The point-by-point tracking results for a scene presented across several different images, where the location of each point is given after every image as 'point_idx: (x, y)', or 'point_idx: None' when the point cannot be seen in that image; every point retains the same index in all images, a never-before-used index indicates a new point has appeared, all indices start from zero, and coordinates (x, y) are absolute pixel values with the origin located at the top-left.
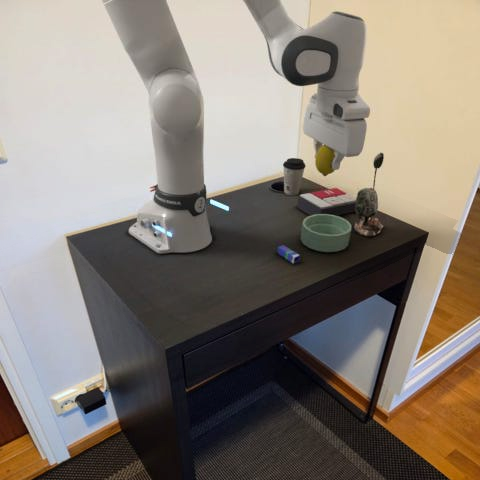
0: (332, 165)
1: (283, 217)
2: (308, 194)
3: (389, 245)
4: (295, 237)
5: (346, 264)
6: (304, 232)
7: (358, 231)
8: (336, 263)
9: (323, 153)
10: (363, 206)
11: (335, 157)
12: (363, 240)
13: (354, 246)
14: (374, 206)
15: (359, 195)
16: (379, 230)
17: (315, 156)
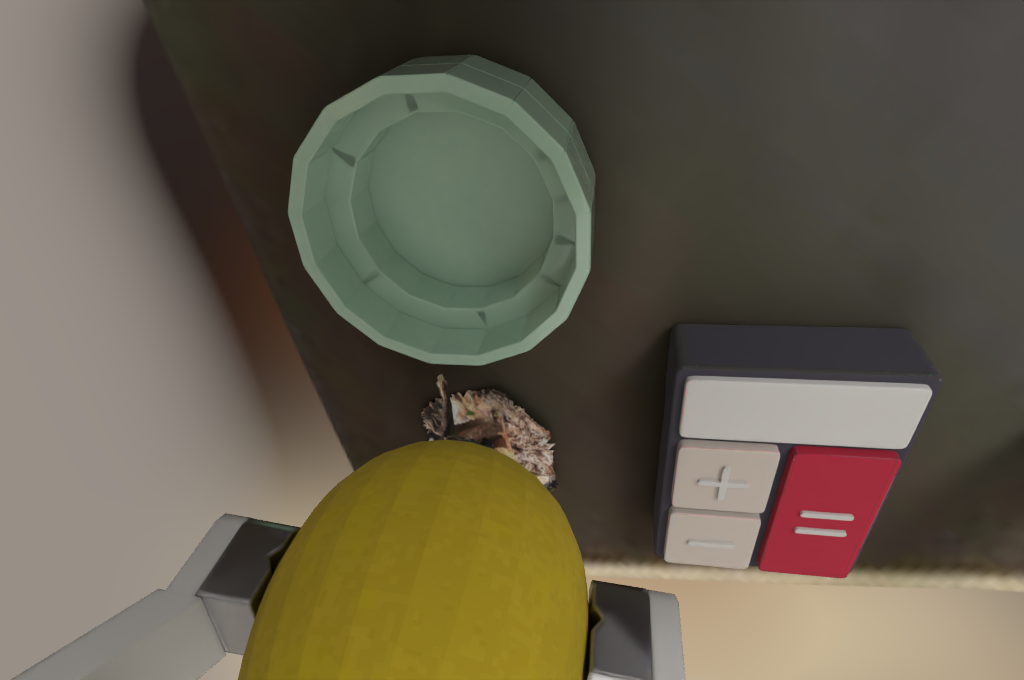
0: (223, 551)
1: (867, 173)
2: (893, 429)
3: (344, 412)
4: (587, 74)
5: (230, 150)
6: (455, 67)
7: (486, 397)
8: (246, 109)
9: (292, 670)
10: None
11: (76, 661)
12: (413, 363)
13: None
14: None
15: None
16: None
17: (660, 619)
